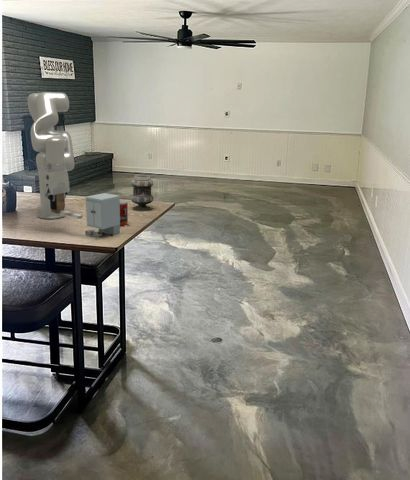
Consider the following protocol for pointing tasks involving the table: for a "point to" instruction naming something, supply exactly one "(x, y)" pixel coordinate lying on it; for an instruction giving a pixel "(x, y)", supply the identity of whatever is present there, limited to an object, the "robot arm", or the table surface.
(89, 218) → the cabinet
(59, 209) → the brown wooden block
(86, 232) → the disc
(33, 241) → the table surface
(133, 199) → the apothecary jar
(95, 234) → the disc
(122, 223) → the canned food
